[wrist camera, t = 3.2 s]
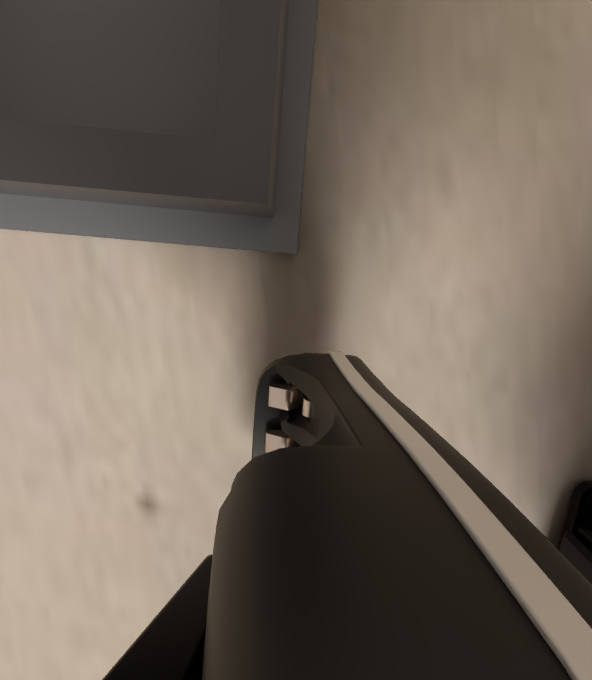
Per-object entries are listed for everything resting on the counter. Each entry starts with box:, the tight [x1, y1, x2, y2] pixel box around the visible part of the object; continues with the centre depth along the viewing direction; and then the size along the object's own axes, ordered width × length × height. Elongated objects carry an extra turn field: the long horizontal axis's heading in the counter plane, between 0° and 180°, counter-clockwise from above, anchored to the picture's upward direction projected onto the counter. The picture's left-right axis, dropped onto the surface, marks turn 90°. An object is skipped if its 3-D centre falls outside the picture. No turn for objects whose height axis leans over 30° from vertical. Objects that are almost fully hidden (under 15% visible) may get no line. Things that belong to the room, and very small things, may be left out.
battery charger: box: [202, 351, 592, 680], centre depth 7 cm, size 7×4×11 cm, turn 175°
